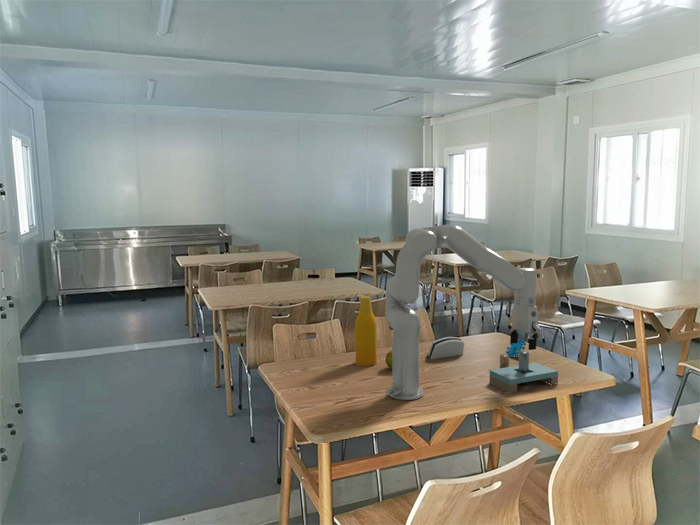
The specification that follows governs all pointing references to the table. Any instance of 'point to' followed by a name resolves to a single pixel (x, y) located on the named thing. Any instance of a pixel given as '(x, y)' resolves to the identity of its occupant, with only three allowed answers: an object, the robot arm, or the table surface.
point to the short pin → (504, 361)
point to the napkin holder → (446, 347)
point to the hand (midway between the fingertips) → (522, 346)
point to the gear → (515, 348)
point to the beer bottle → (366, 334)
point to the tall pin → (523, 364)
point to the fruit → (389, 359)
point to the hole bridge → (521, 376)
